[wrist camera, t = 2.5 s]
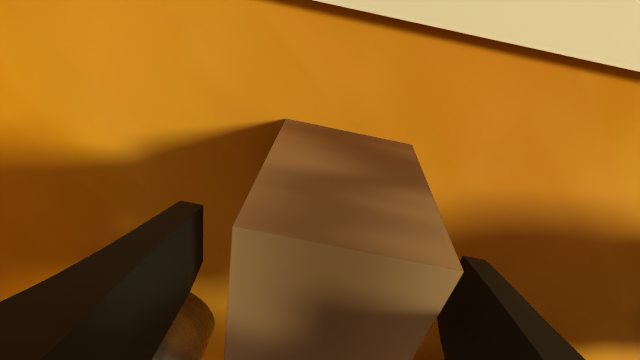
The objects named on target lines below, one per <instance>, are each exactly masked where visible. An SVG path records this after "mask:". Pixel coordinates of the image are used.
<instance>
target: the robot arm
mask: <svg viewBox="0 0 640 360" xmlns="http://www.w3.org/2000/svg"><path fill="white" fill-rule="evenodd" d="M202 261H203V205H199V204H194V203H189V202H184V201H180V202H178V203H176V204H174V205H173V206H171V207H170V208H168V209H166V210H165V211H163V212H162V213H160V214H158V215H157V216H155V217H154V218H152V219H150V220H149V221H147V222H146V223H144V224H142V225H141V226H139V227H138V228H136V229H134V230H133V231H131V232H130V233H128V234H126V235H125V236H123V237H121V238H120V239H118V240H116V241H115V242H113V243H111V244H110V245H108V246H106V247H105V248H103V249H101V250H99V251H98V252H96V253H94V254H92V255H90V256H89V257H87V258H85V259H83V260H81V261H80V262H78V263H76V264H74V265H72V266H71V267H69V268H67V269H65V270H63V271H61V272H60V273H58V274H56V275H54V276H52V277H50V278H48V279H46V280H44V281H42V282H40V283H38V284H36V285H34V286H32V287H30V288H28V289H26V290H24V291H22V292H20V293H18V294H16V295H14V296H12V297H9V298H7V299H5V300H3V301H1V302H0V360H152V358H153V357H154V355H155V353H156V351H157V350H158V348H159V346H160V344H161V343H162V341H163V339H164V337H165V336H166V334H167V332H168V330H169V329H170V327H171V325H172V323H173V322H174V320H175V318H176V316H177V314H178V313H179V311H180V309H181V307H182V306H183V304H184V302H185V300H186V298H187V296H188V295H189V292H190V290H191V288H192V285H193V283H194V281H195V279H196V276H197V274H198V271H199V269H200V266H201V264H202ZM460 264H461V266H462V269H463V271H464V273H463V274H462V276H461V278H460V279H459V281H458V283H457V284H456V286H455V288H454V289H453V291H452V293H451V295H450V296H449V298H448V300H447V301H446V303H445V305H444V306H443V308H442V310H441V311H440V313H439V315H438V317H437V319H438V327H439V333H440V340H441V344H442V348H443V352H444V356H445V360H585V359H584V358H583V357H582V356H581V355H580V354H579V353H578V352H577V351H576V350H575V349H574V348H573V347H572V346H571V345H570V344H569V343H568V342H567V341H565V340H564V339H563V338H562V337H561V336H560V335H559V334H558V333H557V332H556V331H555V330H554V329H553V328H552V327H551V326H550V325H549V324H548V323H547V322H546V321H545V320H544V319H543V318H542V317H541V316H540V315H539V314H538V313H537V311H536V310H535V309H534V308H533V307H532V306H531V305H530V304H529V303H528V302H527V301H526V300H525V299H524V298H523V297H522V296H521V295H520V294H519V293H518V292H517V291H516V290H515V289H514V288H513V287H512V286H511V285H510V284H509V283H508V282H507V281H506V280H505V279H504V278H503V277H502V276H501V275H500V274H499V273H498V272H497V271H496V270H495V269H494V268H493V267H492V266H491V265H490V264H489V263H487V262H486V261H485V260H482V259H477V258H472V257H467V256H463V257H462V259H461V261H460Z"/></svg>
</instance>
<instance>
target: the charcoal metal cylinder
mask: <svg viewBox="0 0 640 360" xmlns="http://www.w3.org/2000/svg"><path fill="white" fill-rule="evenodd" d="M214 324H215V323H214V317H213V314H212V312H211V311H210V309H209V308H208V306H207V305H206V304H205V303H204V302H203V301H202V300H201V299H199V298H198V297H197V296H195V295H194V294H192V293H190V292H189V295H188V296H187V298H186V300H185V302H184V304H183V306H182V307H181V309H180V311H179V313H178V314H177V316H176V318H175V320H174V322H173V323H172V325H171V327H170V329H169V330H168V332H167V334H166V336H165V337H164V339H163V341H162V343H161V344H160V346H159V348H158V350H157V351H156V353H155V355H154V357H153V358H152V360H201V359H202V357H203V354H204V352H205V349H206V347H207V344H208V342H209V339H210V337H211V334H212V332H213V329H214Z"/></svg>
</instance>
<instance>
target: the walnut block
mask: <svg viewBox="0 0 640 360" xmlns="http://www.w3.org/2000/svg"><path fill="white" fill-rule="evenodd" d="M463 273H464V271H463V269H462V266H461V264H460V261H459V259H458V256H457V254H456V252H455V249H454V247H453V244H452V242H451V239H450V237H449V234H448V232H447V230H446V227H445V225H444V222H443V220H442V217H441V215H440V213H439V210H438V208H437V205H436V203H435V200H434V198H433V195H432V193H431V191H430V188H429V186H428V183H427V181H426V178H425V176H424V174H423V171H422V169H421V166H420V164H419V161H418V159H417V156H416V154H415V152H414V149H413V147H412V145H410V144H405V143H400V142H396V141H391V140H386V139H381V138H376V137H371V136H367V135H362V134H357V133H352V132H347V131H343V130H338V129H333V128H328V127H323V126H319V125H314V124H309V123H304V122H299V121H294V120H290V119H285V121H284V123H283V125H282V127H281V129H280V131H279V133H278V135H277V137H276V139H275V141H274V143H273V145H272V147H271V150H270V152H269V154H268V156H267V158H266V160H265V162H264V164H263V166H262V168H261V170H260V172H259V174H258V176H257V178H256V180H255V182H254V184H253V186H252V188H251V190H250V192H249V194H248V196H247V198H246V200H245V202H244V204H243V206H242V208H241V210H240V212H239V214H238V216H237V218H236V220H235V222H234V224H233V226H232V242H231V258H230V273H229V289H228V305H227V321H226V337H225V353H224V360H412V359H413V357H414V356H415V354H416V352H417V350H418V349H419V347H420V345H421V344H422V342H423V340H424V339H425V337H426V335H427V334H428V332H429V330H430V328H431V327H432V325H433V323H434V322H435V320H436V318H437V317H438V315H439V313H440V311H441V310H442V308H443V306H444V305H445V303H446V301H447V300H448V298H449V296H450V295H451V293H452V291H453V289H454V288H455V286H456V284H457V283H458V281H459V279H460V278H461V276H462V274H463Z"/></svg>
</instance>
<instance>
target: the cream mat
mask: <svg viewBox="0 0 640 360" xmlns="http://www.w3.org/2000/svg"><path fill="white" fill-rule="evenodd" d="M314 1H319V2H323V3H328V4H333V5H337V6H342V7H346V8H351V9H355V10H360V11H365V12H369V13H374V14H378V15H383V16H387V17H392V18H397V19H401V20H406V21H410V22H415V23H419V24H424V25H428V26H433V27H438V28H442V29H447V30H451V31H456V32H460V33H465V34H470V35H474V36H479V37H483V38H488V39H492V40H497V41H502V42H506V43H511V44H515V45H520V46H524V47H529V48H533V49H538V50H543V51H547V52H552V53H556V54H561V55H565V56H570V57H575V58H579V59H584V60H588V61H593V62H597V63H602V64H607V65H611V66H616V67H620V68H625V69H629V70H634V71H638V72H640V0H314Z"/></svg>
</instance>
